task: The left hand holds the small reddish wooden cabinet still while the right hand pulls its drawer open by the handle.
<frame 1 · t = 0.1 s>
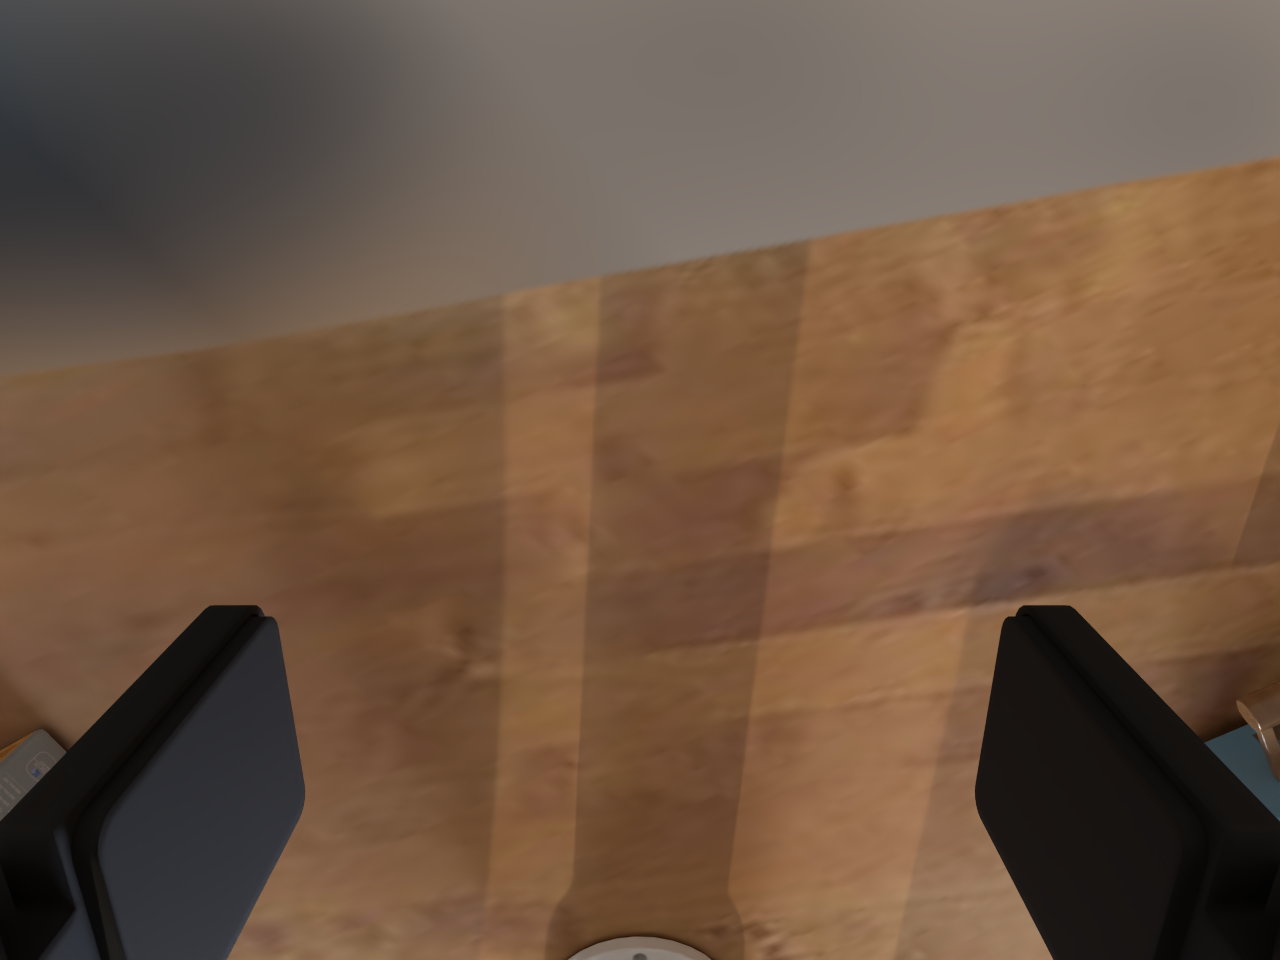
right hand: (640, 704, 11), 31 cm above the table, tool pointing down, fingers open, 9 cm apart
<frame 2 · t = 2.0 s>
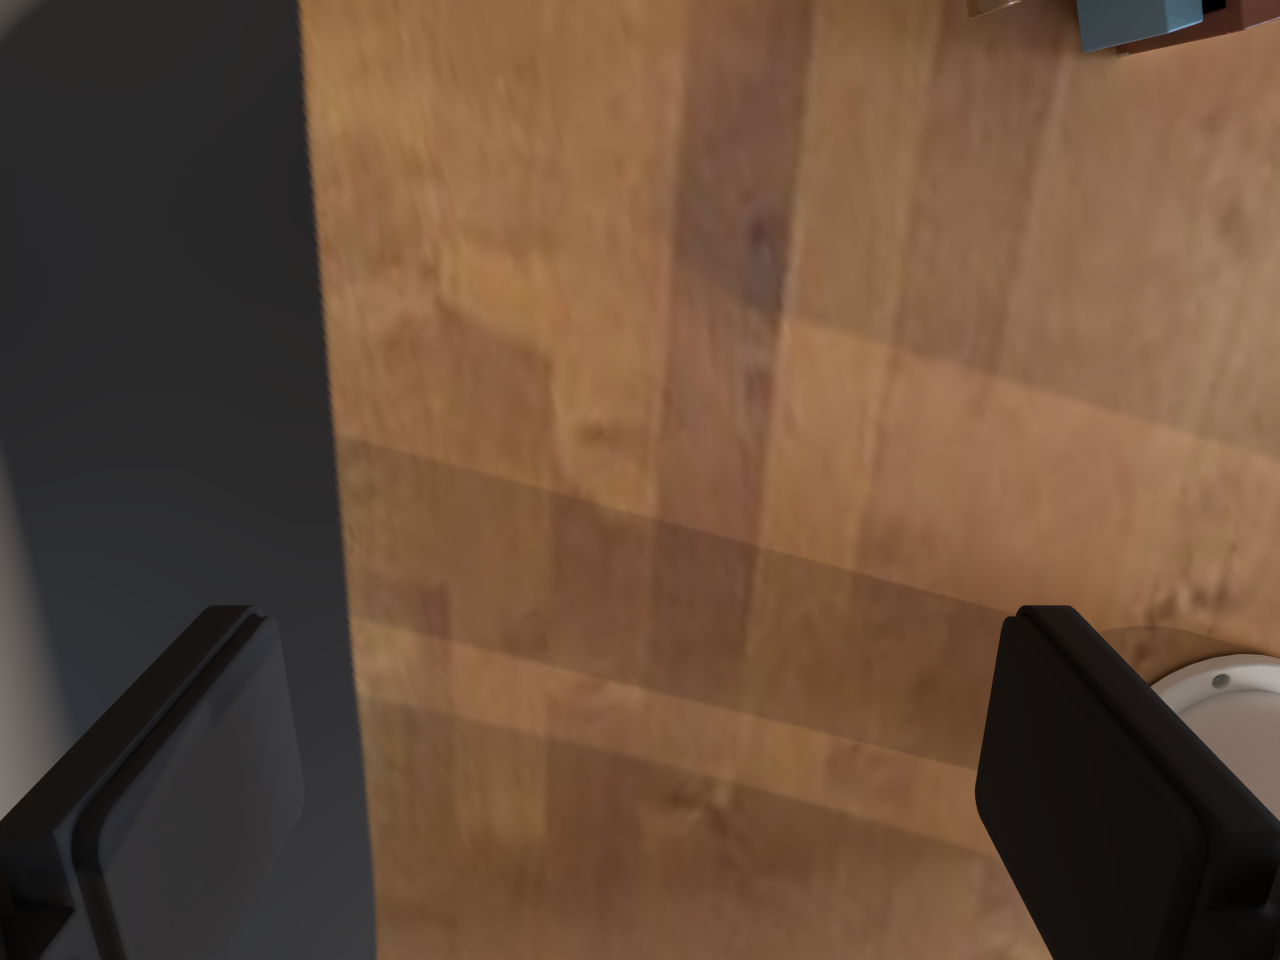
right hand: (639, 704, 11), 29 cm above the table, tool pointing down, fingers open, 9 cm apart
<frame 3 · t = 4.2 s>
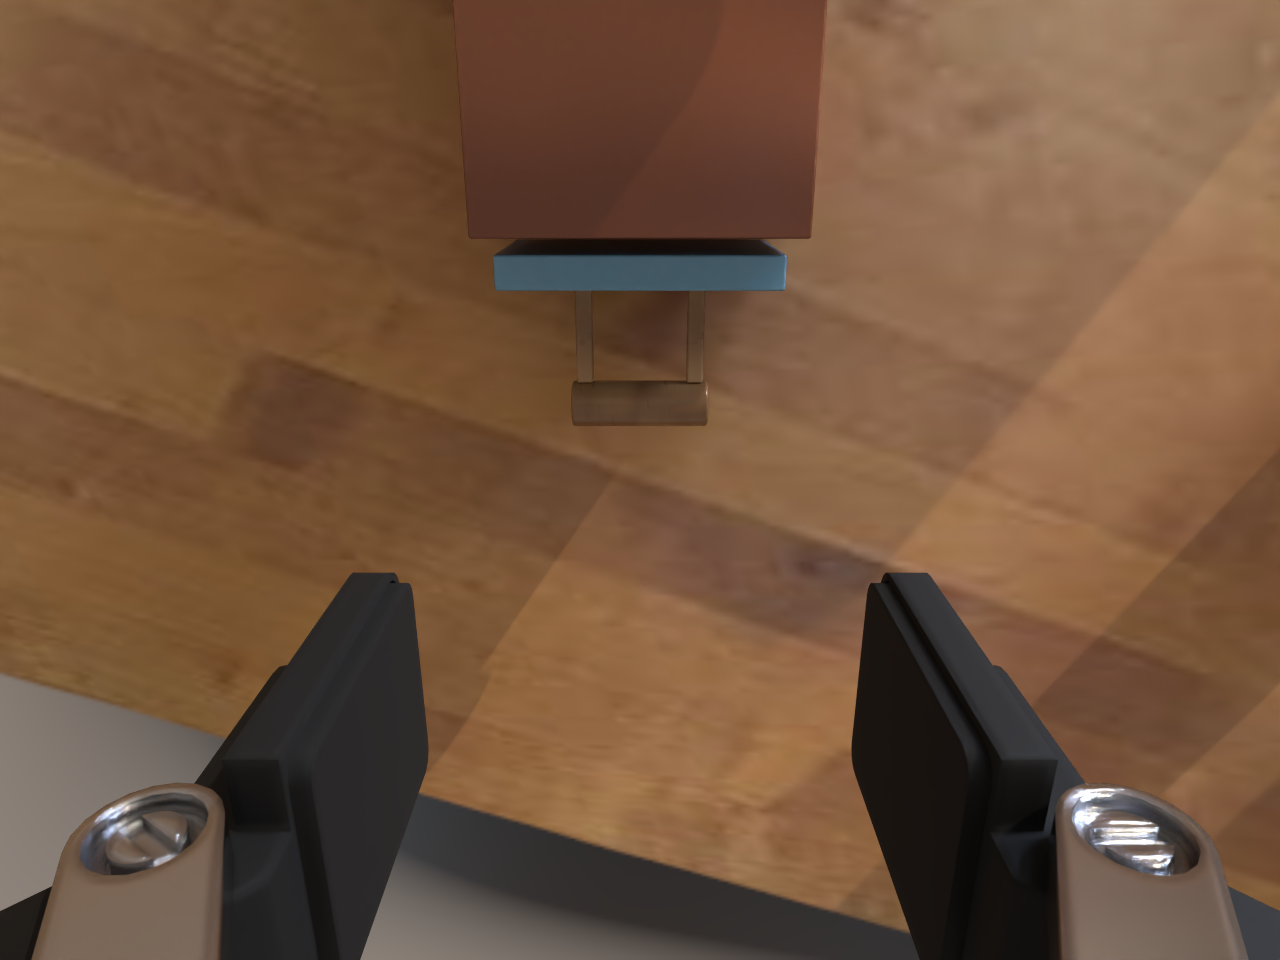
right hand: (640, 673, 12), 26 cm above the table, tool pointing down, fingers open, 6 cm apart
drawer: (639, 62, 30), point 4 cm above the table, slide at 0.6 cm
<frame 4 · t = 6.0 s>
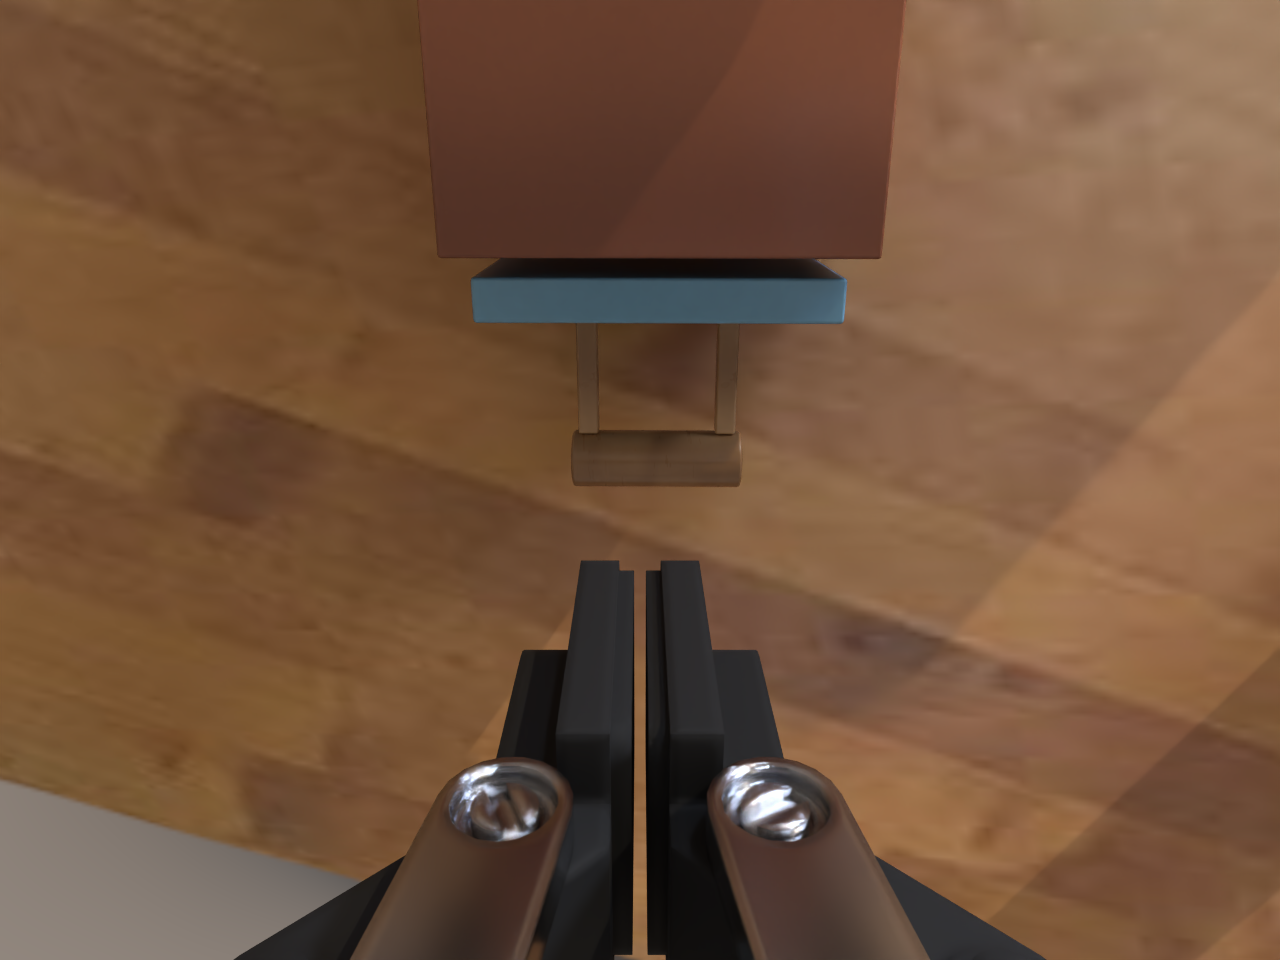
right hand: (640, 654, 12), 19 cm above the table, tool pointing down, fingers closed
drawer: (659, 31, 23), point 4 cm above the table, slide at 0.6 cm
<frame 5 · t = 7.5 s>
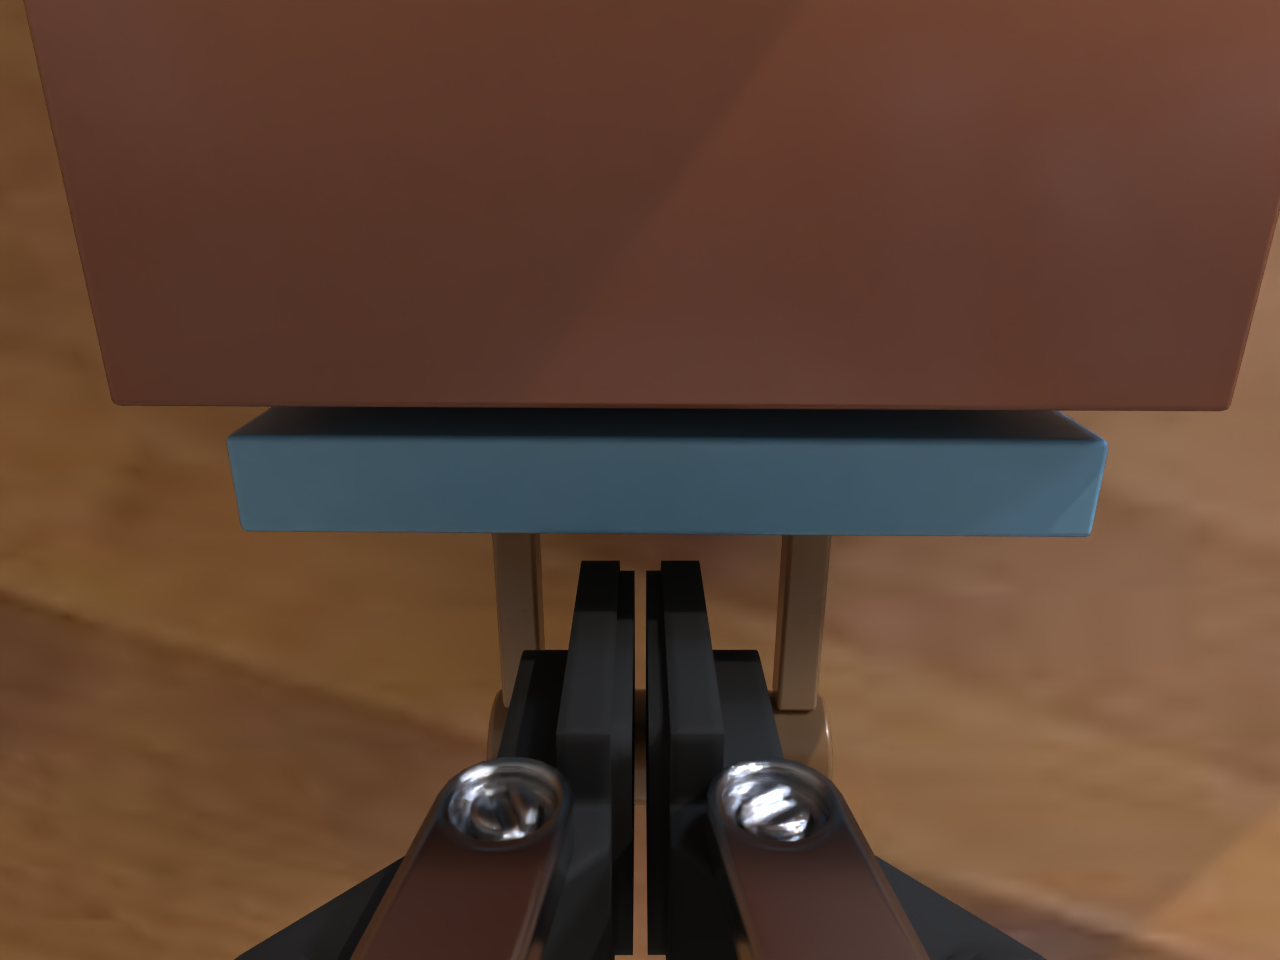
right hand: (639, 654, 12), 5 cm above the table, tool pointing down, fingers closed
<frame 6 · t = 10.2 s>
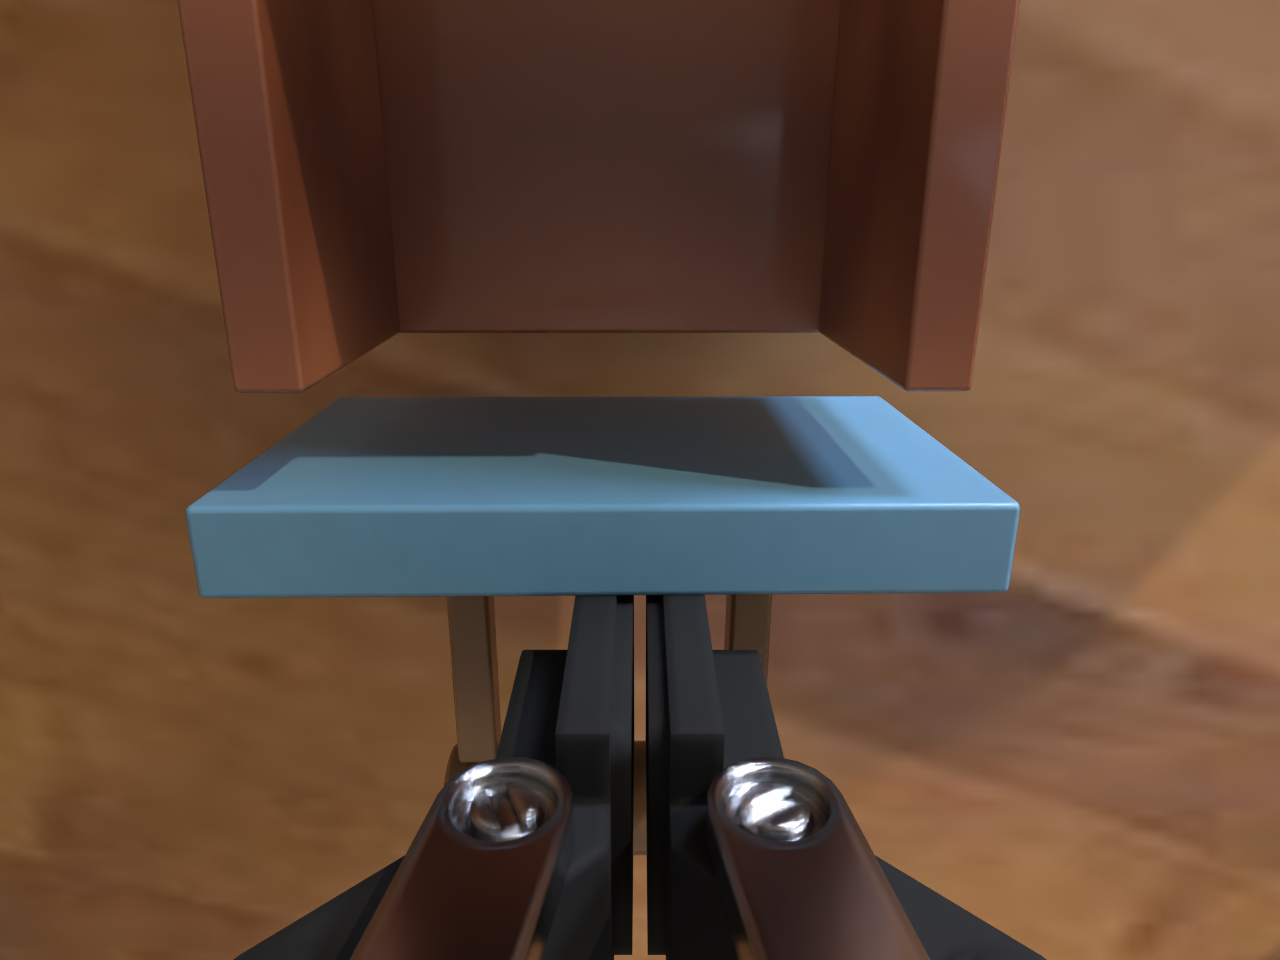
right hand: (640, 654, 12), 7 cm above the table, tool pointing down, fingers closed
when the left hand's fingers open (3 cm above the table, at t = 11.4 s): cabinet stays where it is, on the table.
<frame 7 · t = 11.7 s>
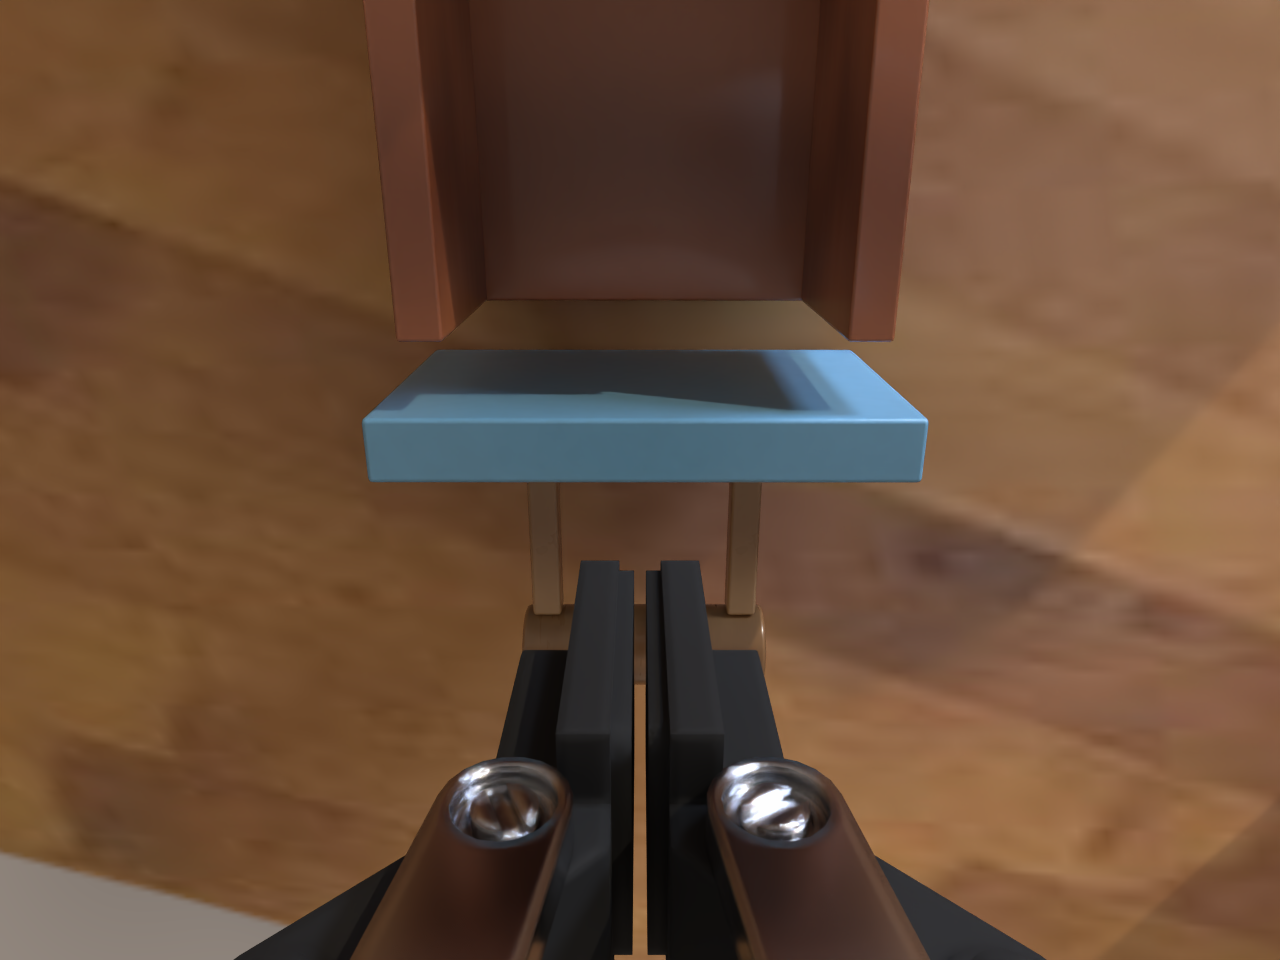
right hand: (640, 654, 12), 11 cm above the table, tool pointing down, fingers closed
drawer: (645, 47, 16), point 4 cm above the table, slide at 9.6 cm
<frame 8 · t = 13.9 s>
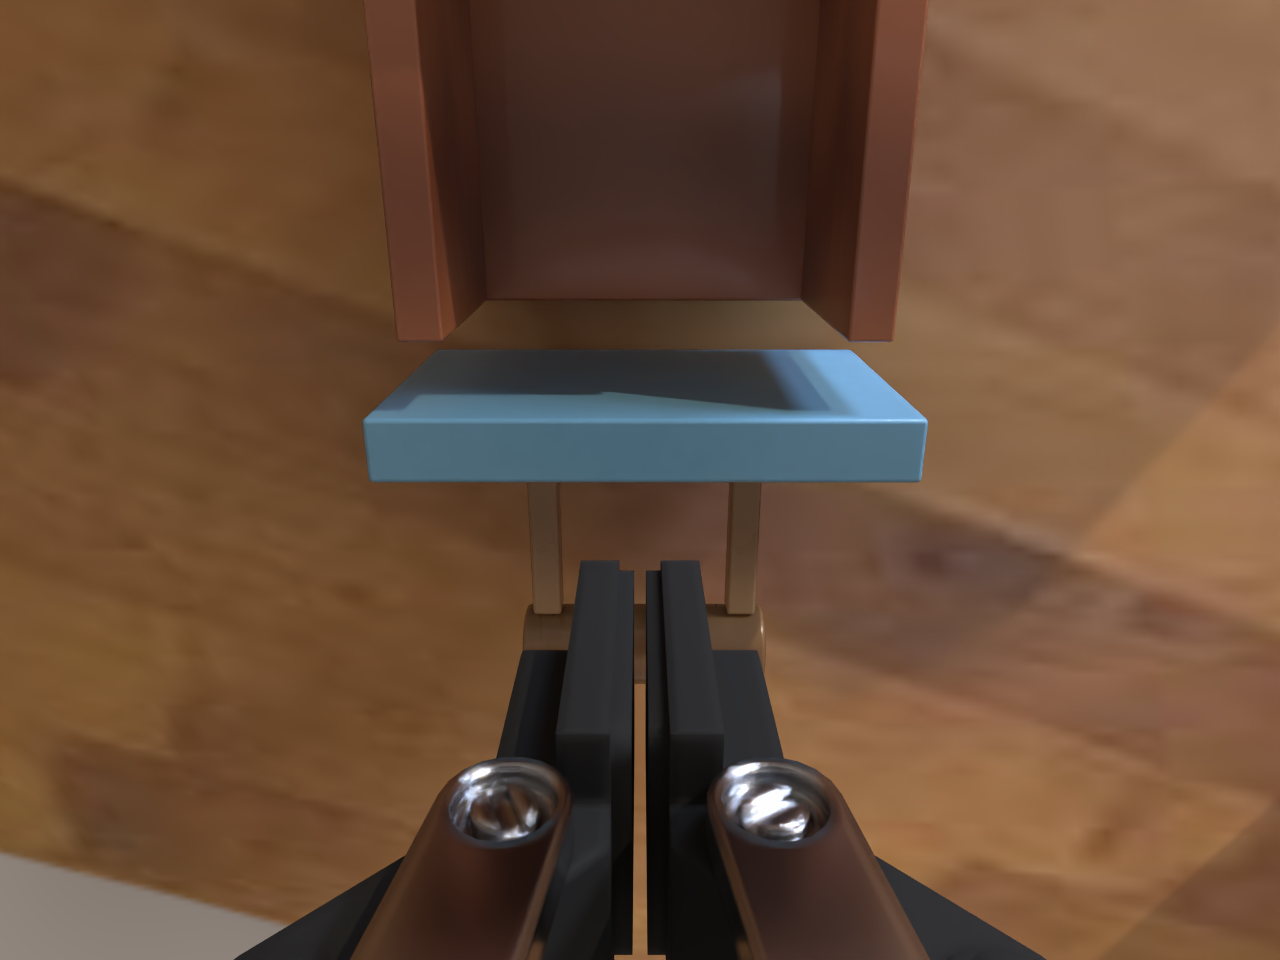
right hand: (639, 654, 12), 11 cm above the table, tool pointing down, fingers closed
drawer: (645, 47, 16), point 4 cm above the table, slide at 9.6 cm
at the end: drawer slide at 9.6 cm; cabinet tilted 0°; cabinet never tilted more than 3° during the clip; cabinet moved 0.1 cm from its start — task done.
